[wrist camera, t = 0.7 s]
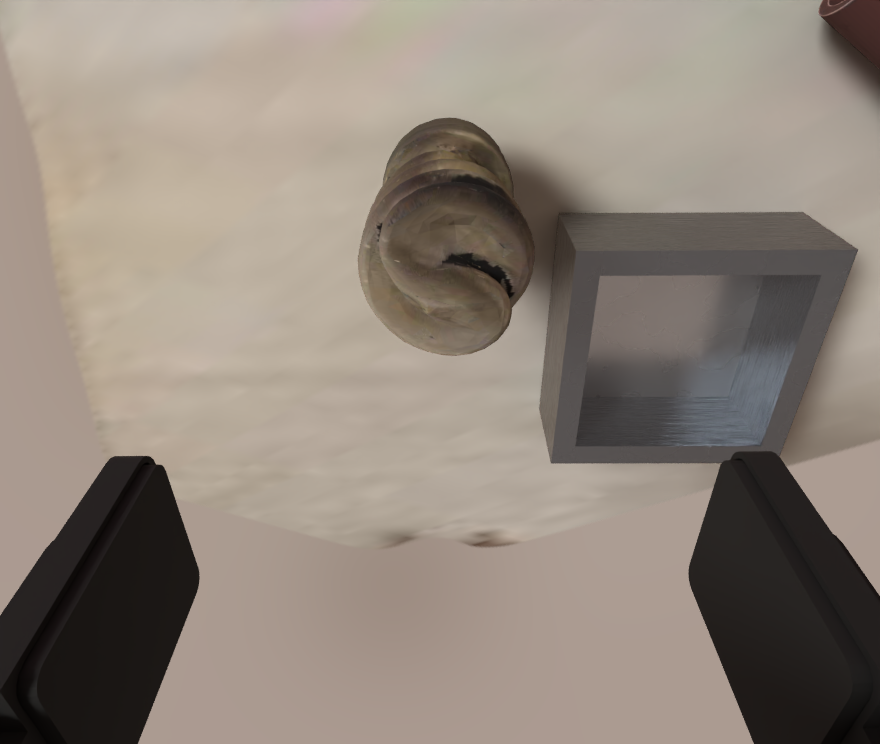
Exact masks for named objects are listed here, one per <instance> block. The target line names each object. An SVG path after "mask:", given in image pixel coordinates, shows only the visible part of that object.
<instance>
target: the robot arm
mask: <svg viewBox="0 0 880 744" xmlns="http://www.w3.org/2000/svg"><path fill="white" fill-rule="evenodd" d="M689 581H690V586H691V589H692V592H693V594H694V597H695V599H696V601H697V604H698V606H699V609H700V611H701V614H702V616H703V619H704V621H705V624H706V626H707V629H708V631H709V634H710V636H711V638H712V641H713V643H714V646H715V648H716V651H717V653H718V656H719V658H720V661H721V663H722V666H723V668H724V671H725V673H726V675H727V678H728V680H729V683H730V686H731V688H732V691H733V693H734V695H735V698H736V700H737V703H738V705H739V708H740V710H741V713H742V715H743V718H744V720H745V723H746V725H747V727H748V730H749V732H750V735H751V738H752V740H753V742H754V744H880V596H879V594H878V593H877V592H876V590H875V589H874V587H873V586H872V584H871V583H870V582H869V580H868V579H867V577H866V576H865V574H864V573H863V572H862V570H861V569H860V567H859V566H858V564H857V563H856V561H855V560H854V559H853V557H852V556H851V554H850V553H849V551H848V550H847V549H846V547H845V546H844V544H843V543H842V542H841V541H840V540H839V539H838V538H837V536H835V535H834V534H832V532H831V531H830V530H829V528H828V527H827V525H826V524H825V522H824V521H823V519H822V518H821V516H820V515H819V514H818V512H817V511H816V509H815V508H814V506H813V505H812V503H811V502H810V500H809V499H808V498H807V496H806V495H805V493H804V492H803V490H802V489H801V488H800V486H799V485H798V483H797V482H796V480H795V479H794V477H793V476H792V475H791V473H790V472H789V470H788V469H787V467H786V466H785V464H784V463H783V462H782V460H781V459H780V457H779V456H778V455H777V454H776V453H774V452H772V451H739V452H735V453H734V454H733V455H732V457H731V459H730V460H725V461H723V462H722V464H721V466H720V469H719V472H718V475H717V479H716V482H715V485H714V488H713V491H712V495H711V498H710V501H709V504H708V508H707V511H706V514H705V517H704V521H703V524H702V527H701V530H700V533H699V536H698V539H697V543H696V546H695V549H694V552H693V556H692V559H691V562H690V566H689ZM198 586H199V569H198V566H197V563H196V560H195V557H194V554H193V551H192V548H191V545H190V542H189V539H188V536H187V533H186V530H185V527H184V524H183V521H182V518H181V515H180V512H179V510H178V507H177V503H176V500H175V497H174V494H173V491H172V488H171V485H170V482H169V479H168V476H167V473H166V470H165V468H164V467H163V466H162V465H156V464H155V462H154V460H153V459H152V458H151V457H149V456H115V457H112V458H110V460H109V461H108V462H107V463H106V464H105V466H104V467H103V469H102V470H101V472H100V473H99V475H98V476H97V478H96V479H95V481H94V482H93V484H92V485H91V487H90V488H89V490H88V491H87V493H86V494H85V495H84V497H83V498H82V500H81V502H80V503H79V504H78V506H77V507H76V509H75V511H74V512H73V513H72V515H71V516H70V518H69V519H68V521H67V522H66V524H65V525H64V527H63V528H62V530H61V531H60V533H59V534H58V536H57V537H56V539H55V540H54V541H52V542H51V543H50V545H49V546H48V547H47V548H46V549H45V551H44V552H43V553H42V555H41V557H40V558H39V559H38V561H37V562H36V564H35V565H34V567H33V568H32V570H31V572H30V573H29V574H28V576H27V577H26V579H25V580H24V581H23V583H22V584H21V586H20V588H19V589H18V591H17V592H16V593H15V595H14V597H13V598H12V599H11V601H10V602H9V604H8V605H7V607H6V608H5V609H4V611H3V612H2V614H1V615H0V744H138V742H139V739H140V737H141V734H142V732H143V729H144V726H145V724H146V721H147V719H148V716H149V713H150V711H151V708H152V706H153V703H154V701H155V698H156V696H157V693H158V690H159V688H160V685H161V683H162V680H163V678H164V675H165V672H166V670H167V667H168V665H169V662H170V660H171V657H172V655H173V652H174V649H175V647H176V644H177V642H178V639H179V637H180V634H181V631H182V628H183V626H184V624H185V621H186V618H187V616H188V614H189V611H190V608H191V606H192V603H193V601H194V598H195V596H196V593H197V590H198Z"/></svg>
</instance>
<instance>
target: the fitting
mask: <svg viewBox="0 0 880 744" xmlns="http://www.w3.org/2000/svg"><path fill="white" fill-rule="evenodd" d="M857 251H858V249H856V248H855V247H853V246H852V245H850V244H849V243H847V242H846V241H844V240H843V239H842V238H840V237H839V236H837V235H836V234H834V233H833V232H831V231H830V230H828V229H827V228H825V227H824V226H822V225H821V224H819V223H818V222H817V221H815V220H814V219H812V218H811V217H809V216H808V215H806V214H805V213H803V212H766V213H572V214H559V217H558V227H557V237H556V247H555V257H554V267H553V277H552V287H551V297H550V307H549V317H548V327H547V337H546V347H545V357H544V368H543V378H542V388H541V398H540V408H539V410H540V415H541V419H542V424H543V429H544V433H545V438H546V442H547V447H548V452H549V456H550V461H551V463H722V462H723V461H725V460H730V459H731V457H732V455H733V454H734V453H735V452H739V451H772V452H774V453H776V454H777V455H778V456H780V453H781V451H782V448H783V445H784V443H785V440H786V438H787V435H788V432H789V430H790V427H791V424H792V422H793V419H794V417H795V414H796V411H797V409H798V406H799V403H800V401H801V398H802V395H803V393H804V390H805V388H806V385H807V382H808V380H809V377H810V374H811V372H812V369H813V367H814V364H815V361H816V359H817V356H818V353H819V351H820V348H821V346H822V343H823V340H824V338H825V335H826V332H827V330H828V327H829V324H830V322H831V319H832V317H833V314H834V311H835V309H836V306H837V303H838V301H839V298H840V296H841V293H842V290H843V288H844V285H845V282H846V280H847V277H848V275H849V272H850V269H851V267H852V264H853V261H854V259H855V256H856V253H857Z"/></svg>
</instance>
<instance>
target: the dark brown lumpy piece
mask: <svg viewBox="0 0 880 744" xmlns="http://www.w3.org/2000/svg"><path fill="white" fill-rule="evenodd" d="M819 15H820V16H821V17H822V18H823V19H824V20H826V21H827V22H828V23H829V24H830V25H831V26H832V27H833V28H834V29H836V30H837V31H838V32H839V33H840V34H841V35H842V36H843V37H844V38H845V39H847V40H848V41H849V42H850V43H851V44H852V45H853V46H854V47H855V48H856V49H858V50H859V51H860V52H861V53H862V54H863V55H864V56H865V57H866V58H868V59H869V60H870V61H871V62H872V63H873V64H874V65H875V66H876V67H877V68H879V69H880V0H823V1H822V3H821V5H820V7H819Z"/></svg>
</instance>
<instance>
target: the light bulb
mask: <svg viewBox="0 0 880 744" xmlns="http://www.w3.org/2000/svg"><path fill="white" fill-rule="evenodd" d="M533 265H534V242H533V238H532V234H531V231H530V229H529V227H528V225H527V222H526V220H525V219H524V217H523V215H522V213H521V211H520V209H519V206H518V204H517V203H516V202H515V200H514V199H513V182H512V178H511V174H510V170H509V167H508V165H507V163H506V160H505V158H504V156H503V154H502V153H501V151H500V148H499V146H498V145H497V144H496V143H495V141H494V140H493V139H492V138H491V136H490V135H488V134H487V133H486V132H485V131H484V130H482V129H481V128H479V127H478V126H476V125H475V124H473V123H471V122H468V121H465V120H461V119H457V118H441V119H435V120H432V121H429V122H426V123H423V124H421V125H419V126H417V127H415V128H414V129H413V130H411V131H410V132H409V133H408V134H407V135H405V136H404V137H403V138H402V139H401V140H400V142H399V143H398V145H397V146H396V148H395V149H394V151H393V153H392V155H391V157H390V159H389V161H388V163H387V166H386V170H385V174H384V178H383V187H382V188H381V189H380V191H379V193H378V195H377V197H376V199H375V202H374V204H373V205H372V207H371V209H370V212H369V215H368V218H367V221H366V224H365V228H364V231H363V235H362V239H361V244H360V249H359V255H358V269H359V277H360V281H361V286H362V289H363V291H364V294H365V297H366V300H367V302H368V304H369V306H370V307H371V309H372V310H373V312H374V313H375V315H376V316H377V317H378V318H379V319H380V320H381V322H382V323H383V324H384V325H385V326H386V327H387V328H388V329H389V330H390V331H391V332H392V333H394V334H395V335H396V336H397V337H399V338H400V339H401V340H403V341H404V342H406V343H408V344H410V345H412V346H414V347H417V348H419V349H422V350H425V351H427V352H432V353H436V354H441V355H452V356H457V355H465V354H471V353H474V352H477V351H479V350H482V349H485V348H486V347H488V346H489V345H491V344H492V343H494V342H495V341H497V340H498V339H499V338H500V336H501V335H502V334H503V333H504V331H505V330H506V329H507V327H508V326H509V323H510V319H511V314H512V307H513V306H514V305H515V303H516V302H517V301H518V300H519V298H520V297H521V296H522V295H523V293H524V291H525V290H526V288H527V286H528V284H529V282H530V278H531V275H532V272H533Z"/></svg>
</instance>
